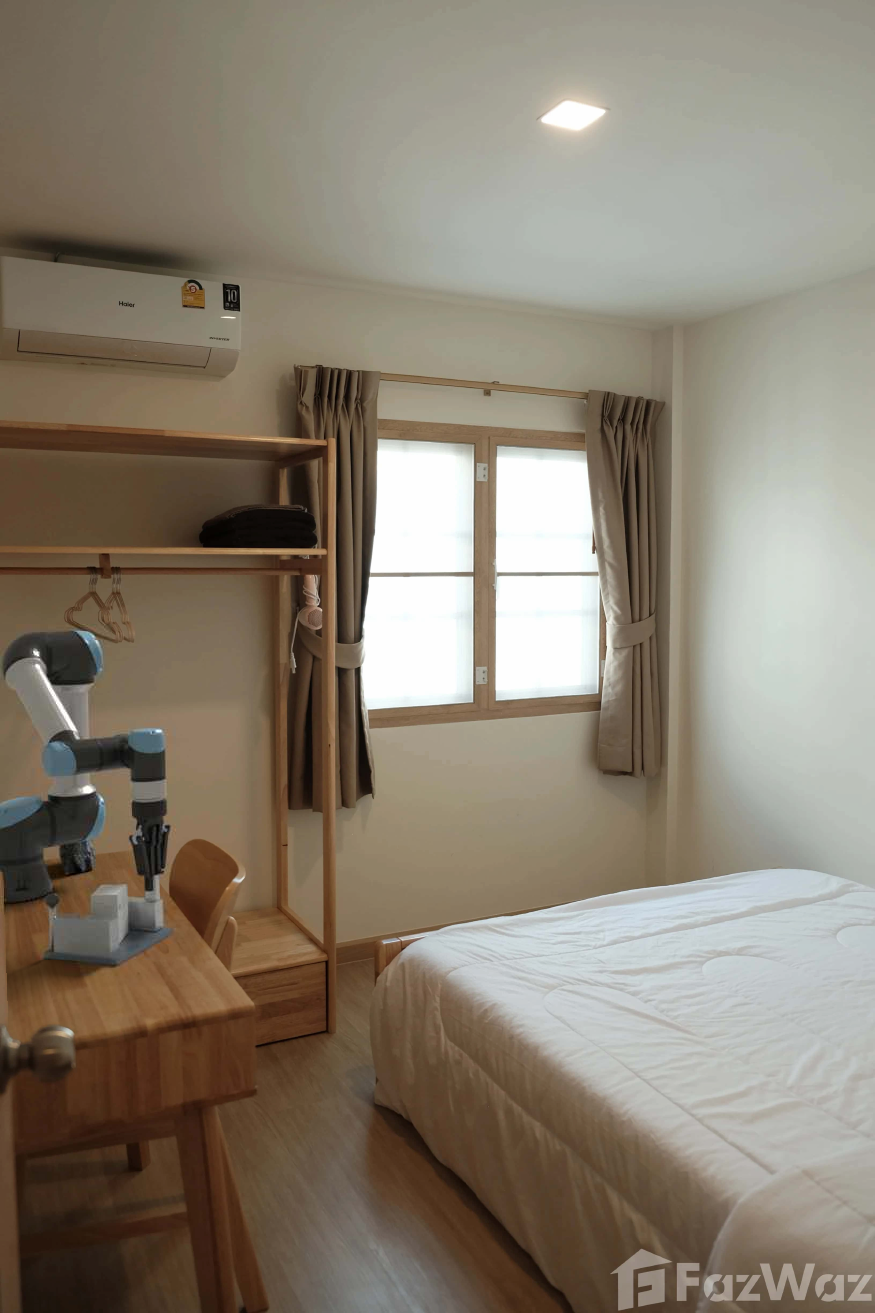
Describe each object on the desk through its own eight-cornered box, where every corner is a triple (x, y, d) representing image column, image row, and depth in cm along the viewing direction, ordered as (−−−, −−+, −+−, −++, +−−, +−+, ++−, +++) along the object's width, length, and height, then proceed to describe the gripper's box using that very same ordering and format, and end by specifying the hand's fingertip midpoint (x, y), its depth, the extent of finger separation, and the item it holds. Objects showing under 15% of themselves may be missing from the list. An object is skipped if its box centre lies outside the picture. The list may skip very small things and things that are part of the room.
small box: (102, 933, 210) (100, 884, 209) (129, 932, 210) (127, 883, 209) (90, 946, 202) (89, 895, 201) (118, 945, 202) (117, 894, 201)
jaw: (111, 922, 217) (110, 895, 216) (163, 927, 213) (162, 899, 213) (102, 926, 214) (101, 899, 213) (155, 931, 210) (154, 903, 210)
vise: (102, 927, 218) (100, 870, 217) (173, 933, 213) (171, 875, 212) (41, 957, 199) (39, 895, 198) (117, 965, 194) (115, 901, 193)
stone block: (95, 873, 264) (92, 798, 263) (59, 876, 261) (56, 801, 260) (96, 857, 281) (94, 787, 280) (62, 860, 278) (60, 789, 278)
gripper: (150, 793, 227) (154, 895, 227) (116, 803, 214) (120, 911, 215) (179, 794, 224) (183, 897, 225) (147, 804, 212) (151, 914, 213)
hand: (152, 904), depth 220 cm, fingers closed
